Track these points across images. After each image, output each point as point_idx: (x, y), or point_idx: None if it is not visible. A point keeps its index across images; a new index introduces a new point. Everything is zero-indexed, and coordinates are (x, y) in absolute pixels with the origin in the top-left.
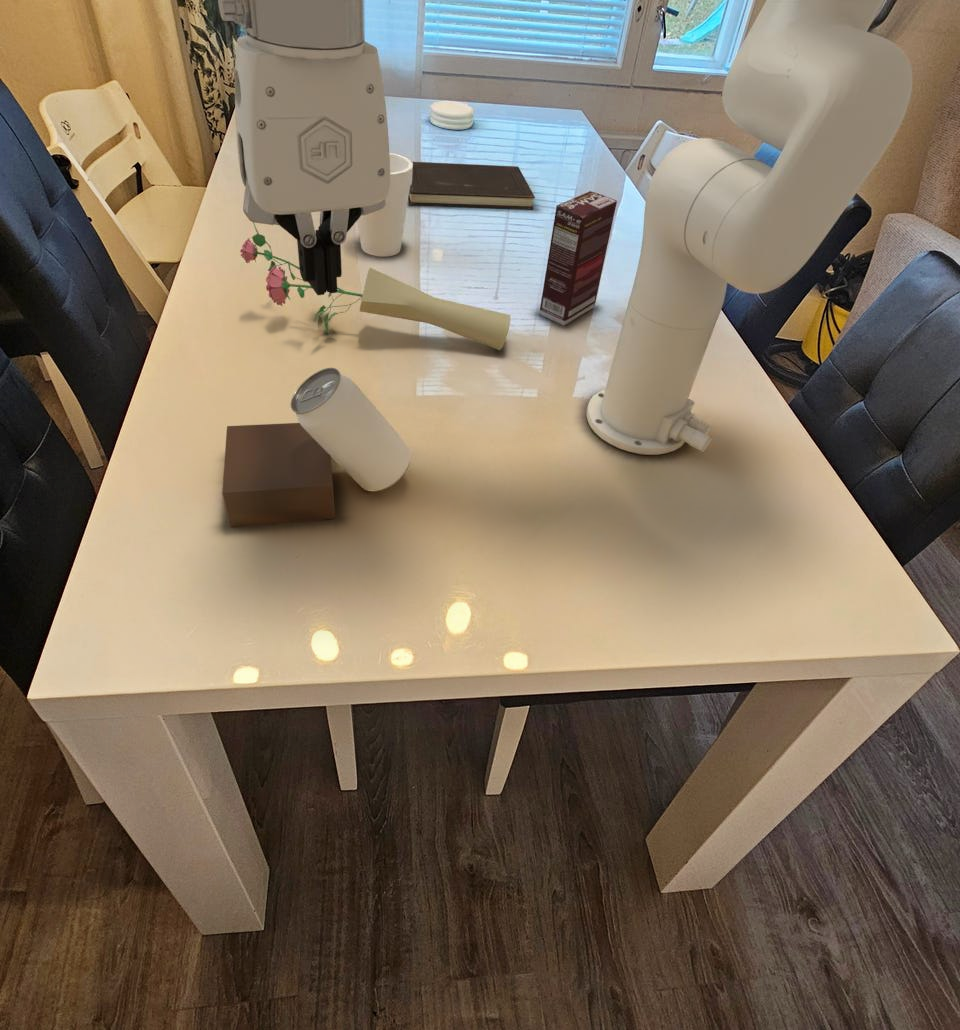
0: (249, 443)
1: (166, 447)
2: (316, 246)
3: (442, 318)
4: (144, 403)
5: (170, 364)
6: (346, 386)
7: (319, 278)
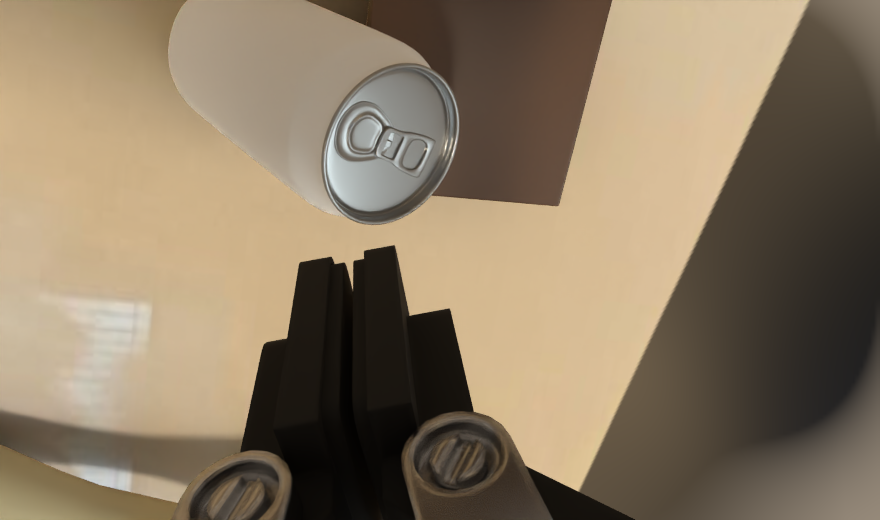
0: (528, 143)
1: (636, 224)
2: (400, 429)
3: (58, 490)
4: (643, 335)
5: (585, 421)
6: (308, 124)
7: (388, 290)
